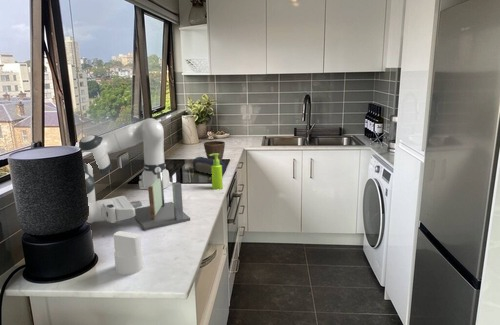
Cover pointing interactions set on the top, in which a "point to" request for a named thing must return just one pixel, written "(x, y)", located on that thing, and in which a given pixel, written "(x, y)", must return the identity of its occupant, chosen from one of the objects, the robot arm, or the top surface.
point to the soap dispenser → (216, 173)
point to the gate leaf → (155, 198)
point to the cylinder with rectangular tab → (128, 253)
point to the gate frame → (163, 210)
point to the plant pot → (214, 149)
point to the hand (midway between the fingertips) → (140, 203)
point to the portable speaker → (206, 165)
